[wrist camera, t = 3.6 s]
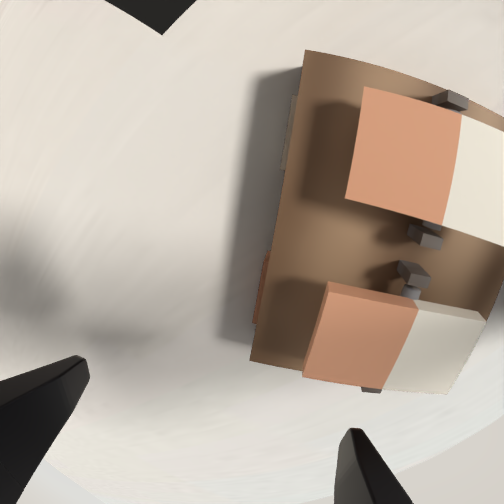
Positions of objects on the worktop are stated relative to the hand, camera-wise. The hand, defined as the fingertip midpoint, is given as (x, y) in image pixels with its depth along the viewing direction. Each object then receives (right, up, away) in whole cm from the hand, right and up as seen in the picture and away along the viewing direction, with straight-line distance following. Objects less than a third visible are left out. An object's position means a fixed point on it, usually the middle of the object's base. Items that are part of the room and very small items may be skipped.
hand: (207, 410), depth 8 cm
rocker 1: (+10, +9, +3) cm, 14 cm away
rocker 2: (+9, 0, +6) cm, 11 cm away
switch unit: (+10, +6, +9) cm, 15 cm away
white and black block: (-6, +38, +2) cm, 38 cm away
